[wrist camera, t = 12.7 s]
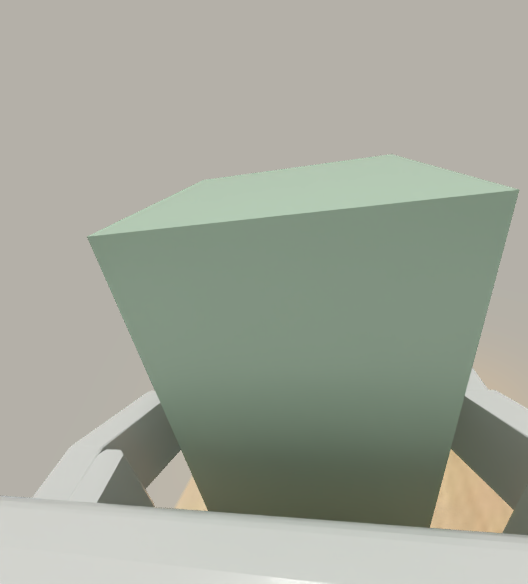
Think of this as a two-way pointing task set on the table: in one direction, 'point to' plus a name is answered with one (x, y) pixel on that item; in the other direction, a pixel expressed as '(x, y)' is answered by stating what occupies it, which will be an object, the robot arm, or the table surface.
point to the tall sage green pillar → (313, 329)
